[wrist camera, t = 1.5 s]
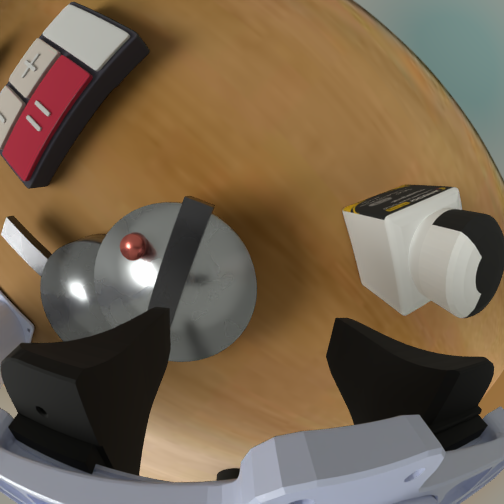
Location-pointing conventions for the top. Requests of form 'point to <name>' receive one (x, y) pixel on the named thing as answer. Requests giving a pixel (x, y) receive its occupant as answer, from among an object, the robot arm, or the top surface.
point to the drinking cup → (228, 474)
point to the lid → (178, 275)
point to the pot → (63, 281)
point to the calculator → (62, 88)
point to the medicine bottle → (426, 249)
